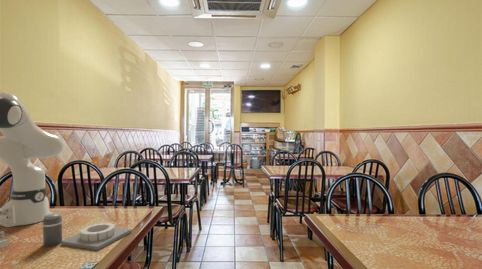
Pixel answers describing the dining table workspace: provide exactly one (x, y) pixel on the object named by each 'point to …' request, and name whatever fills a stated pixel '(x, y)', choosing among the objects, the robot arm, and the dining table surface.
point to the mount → (96, 236)
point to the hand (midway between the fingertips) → (6, 237)
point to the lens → (52, 230)
